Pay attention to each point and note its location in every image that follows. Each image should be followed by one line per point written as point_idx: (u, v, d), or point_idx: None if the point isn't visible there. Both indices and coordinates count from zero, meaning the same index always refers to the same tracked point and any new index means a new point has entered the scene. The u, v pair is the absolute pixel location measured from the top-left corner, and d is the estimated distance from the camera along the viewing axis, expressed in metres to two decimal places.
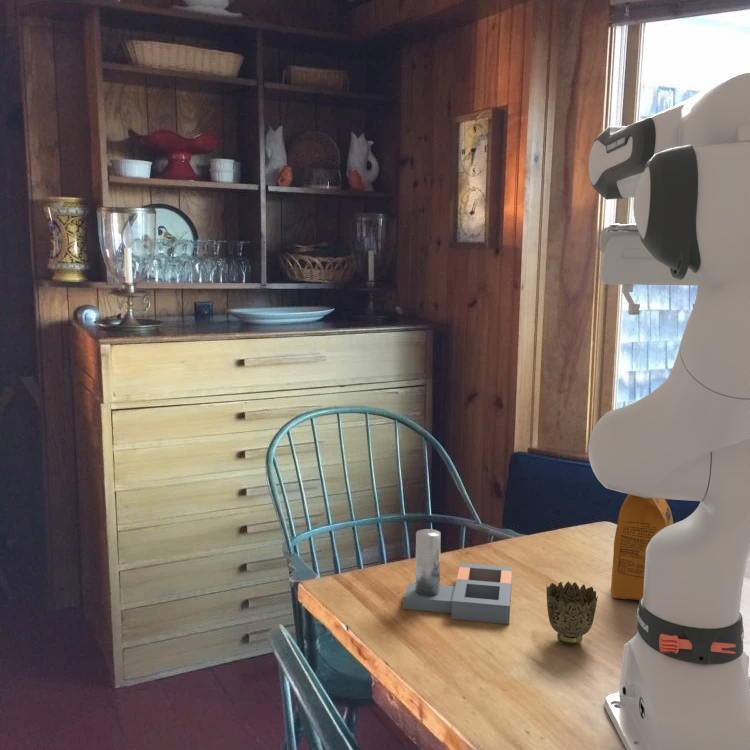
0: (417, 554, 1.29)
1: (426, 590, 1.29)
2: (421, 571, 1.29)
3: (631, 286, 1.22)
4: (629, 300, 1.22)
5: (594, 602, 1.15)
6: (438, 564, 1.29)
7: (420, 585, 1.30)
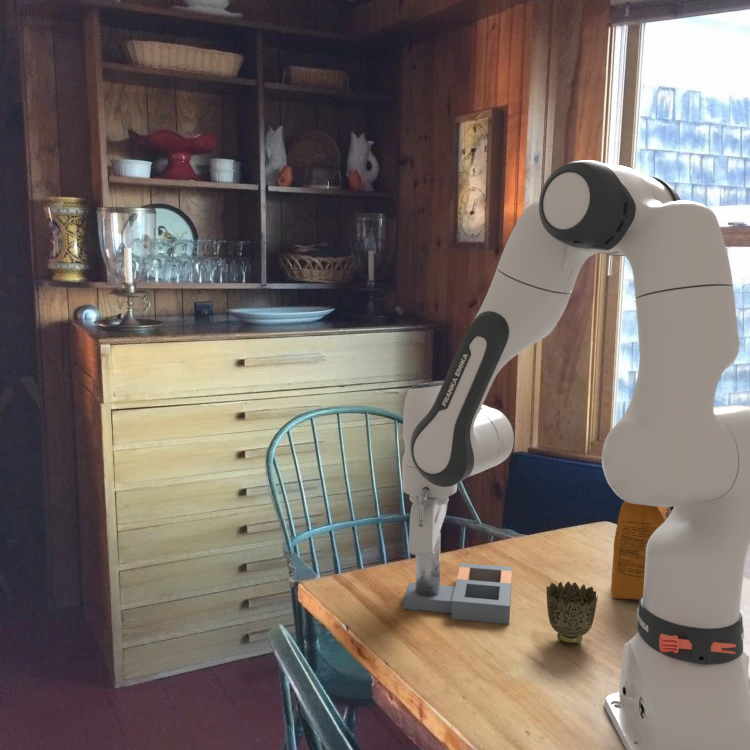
0: None
1: (426, 590, 1.29)
2: (421, 571, 1.29)
3: None
4: (431, 557, 1.27)
5: (594, 602, 1.15)
6: (438, 564, 1.29)
7: (420, 585, 1.30)
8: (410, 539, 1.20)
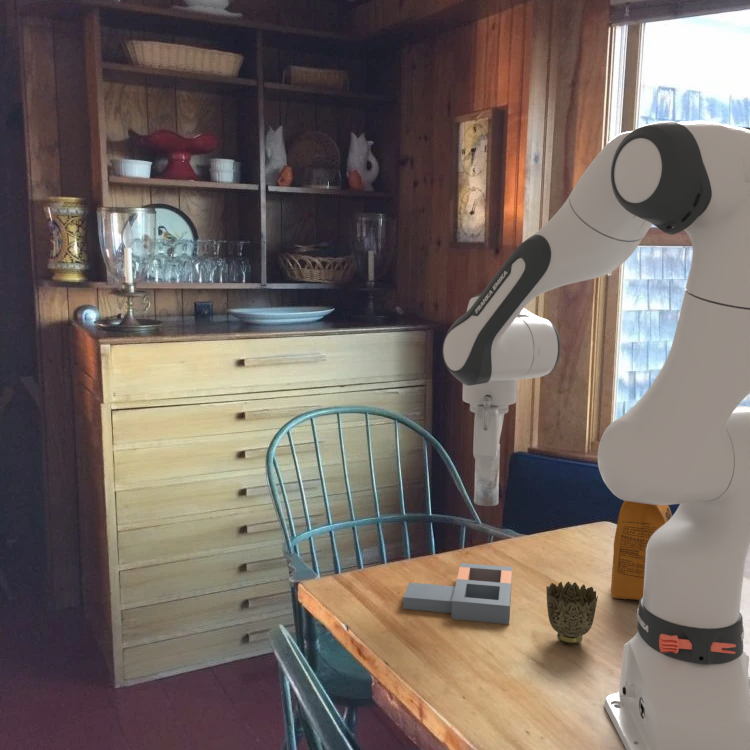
0: (477, 464, 1.32)
1: (486, 500, 1.32)
2: (481, 480, 1.31)
3: None
4: None
5: (594, 602, 1.15)
6: (497, 474, 1.32)
7: (479, 495, 1.32)
8: (475, 443, 1.23)
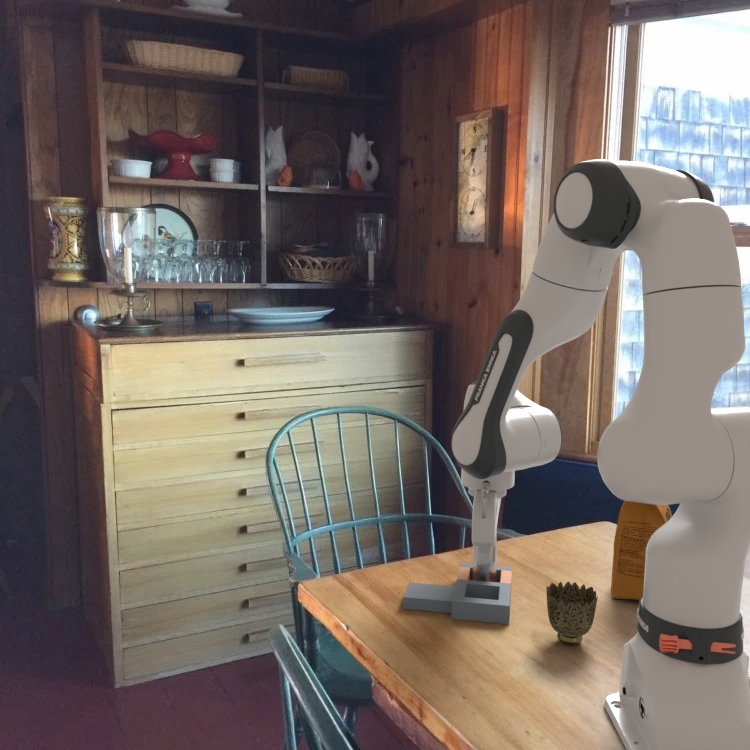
0: (474, 553, 1.35)
1: None
2: (479, 569, 1.34)
3: None
4: None
5: (594, 602, 1.15)
6: (495, 562, 1.34)
7: None
8: (473, 530, 1.25)
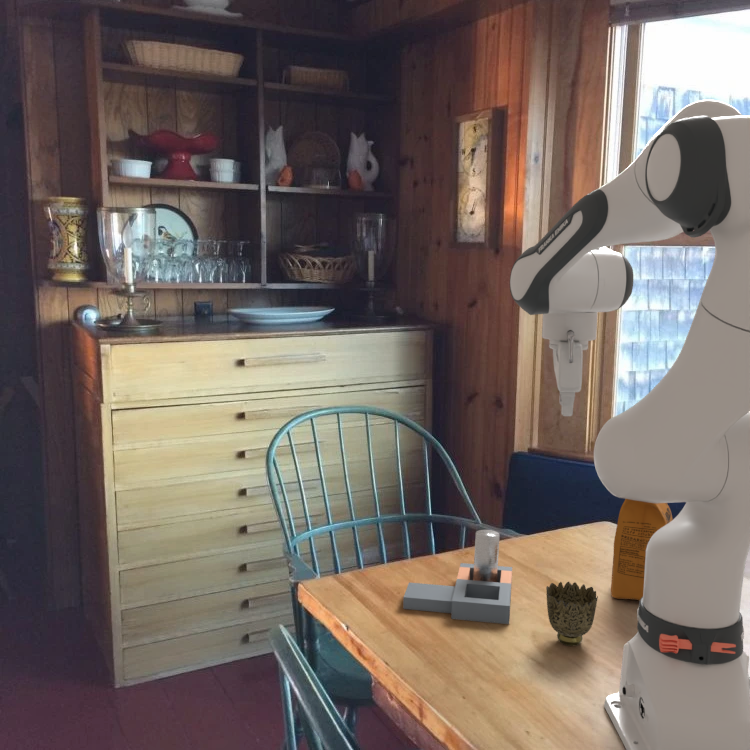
0: (476, 553, 1.34)
1: None
2: (480, 569, 1.34)
3: None
4: (573, 403, 1.29)
5: (594, 602, 1.15)
6: (496, 564, 1.34)
7: None
8: (560, 375, 1.24)
